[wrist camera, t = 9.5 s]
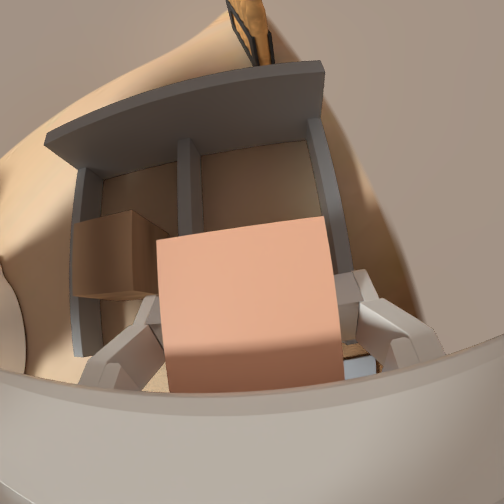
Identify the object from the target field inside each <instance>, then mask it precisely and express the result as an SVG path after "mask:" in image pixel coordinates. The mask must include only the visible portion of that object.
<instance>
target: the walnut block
mask: <svg viewBox="0 0 504 504" xmlns="http://www.w3.org/2000/svg"><path fill="white" fill-rule="evenodd" d="M167 238H169V237H168V233H167V232H165V231H164V230H162V229H161V228H159V227H158V226H156V225H154V224H153V223H151V222H150V221H148V220H147V219H145V218H144V217H142V216H141V215H139V214H138V213H136V212H135V211H133V210H128V211H124V212H119V213H115V214H111V215H107V216H103V217H99V218H95V219H91V220H87V221H83V222H79V223H75V224H74V232H73V257H72V286H73V296H76V297H85V298H94V299H103V300H113V301H125V300H137V299H144V297H145V296H147V295H158V294H159V288H158V270H157V243H156V240H161V239H167Z"/></svg>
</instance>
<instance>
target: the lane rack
mask: <svg viewBox="0 0 504 504" xmlns="http://www.w3.org/2000/svg"><path fill="white" fill-rule="evenodd" d="M324 78H325V71H324V68H323V66H322V63H321V61H320V60H318V61H301V62H289V63H279V64H271V65H263V66H256V67H249V68H243V69H237V70H231V71H226V72H221V73H216V74H211V75H206V76H202V77H198V78H193V79H189V80H185V81H181V82H178V83H174V84H170V85H167V86H163V87H160V88H157V89H153V90H150V91H147V92H144V93H141V94H138V95H135V96H132V97H129V98H126V99H124V100H121V101H118V102H115V103H113V104H110V105H108V106H105V107H103V108H100V109H98V110H95V111H93V112H90V113H88V114H86V115H84V116H81V117H79V118H77V119H75V120H72V121H70V122H68V123H66V124H64V125H62V126H60V127H58V128H56V129H54V130H52V131H50V132H48V133H47V135H46V138H45V142H44V146H46V147H47V148H48V149H50V150H51V151H52V152H54V153H55V154H57V155H58V156H59V157H61V158H62V159H63V160H65V161H66V162H68V163H69V164H70V165H72V166H73V167H75V168H76V169H77V170H78V173H77V180H76V187H75V195H74V203H73V213H72V224H71V239H70V267H69V288H70V315H71V330H72V341H73V351H74V357H88V356H94V355H95V354H96V353H97V352H98V351H100V350H101V349H102V348H103V338H102V327H101V313H100V299H94V298H85V297H76V296H73V286H72V257H73V232H74V224H75V223H79V222H83V221H87V220H91V219H95V218H99V217H100V216H101V202H102V190H103V180H106V179H109V178H112V177H116V176H119V175H123V174H127V173H130V172H134V171H138V170H142V169H146V168H150V167H154V166H158V165H162V164H166V163H170V162H175V161H177V201H178V237H179V236H185V235H192V234H198V233H204V221H203V202H202V180H201V156H203V155H208V154H214V153H219V152H225V151H230V150H236V149H242V148H249V147H255V146H262V145H269V144H276V143H284V142H293V141H302V140H306V141H307V145H308V150H309V154H310V159H311V163H312V168H313V173H314V178H315V183H316V188H317V193H318V198H319V203H320V208H321V214H322V216H324V220H325V225H326V231H327V237H328V243H329V249H330V255H331V261H332V268H333V274H339V273H345V272H351V271H354V269H353V263H352V256H351V250H350V244H349V239H348V233H347V228H346V222H345V217H344V212H343V207H342V203H341V198H340V193H339V189H338V184H337V180H336V176H335V171H334V167H333V163H332V159H331V155H330V151H329V147H328V143H327V140H326V136H325V132H324V129H323V125H322V122H321V118H320V117H321V108H322V99H323V88H324ZM342 342H343V343H344V344H346V345H350V344H356V343H358V342H357V341H356V339H353V340H346V341H342Z"/></svg>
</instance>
